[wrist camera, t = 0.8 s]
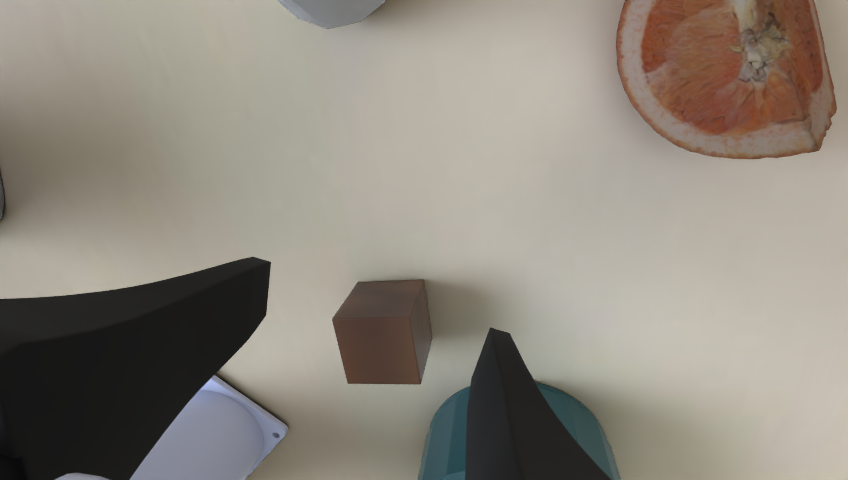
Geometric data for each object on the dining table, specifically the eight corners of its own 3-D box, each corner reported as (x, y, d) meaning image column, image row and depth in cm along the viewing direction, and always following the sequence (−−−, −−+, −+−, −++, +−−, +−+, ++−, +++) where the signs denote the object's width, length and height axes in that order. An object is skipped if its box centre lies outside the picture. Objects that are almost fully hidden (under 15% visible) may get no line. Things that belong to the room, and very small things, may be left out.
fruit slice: (819, 94, 17) (940, 100, 12) (653, 176, 19) (702, 207, 14) (748, -113, 15) (860, -199, 10) (572, 6, 17) (599, -21, 12)
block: (369, 339, 25) (347, 384, 21) (357, 281, 24) (331, 318, 20) (432, 338, 24) (421, 384, 21) (424, 279, 23) (409, 317, 19)
